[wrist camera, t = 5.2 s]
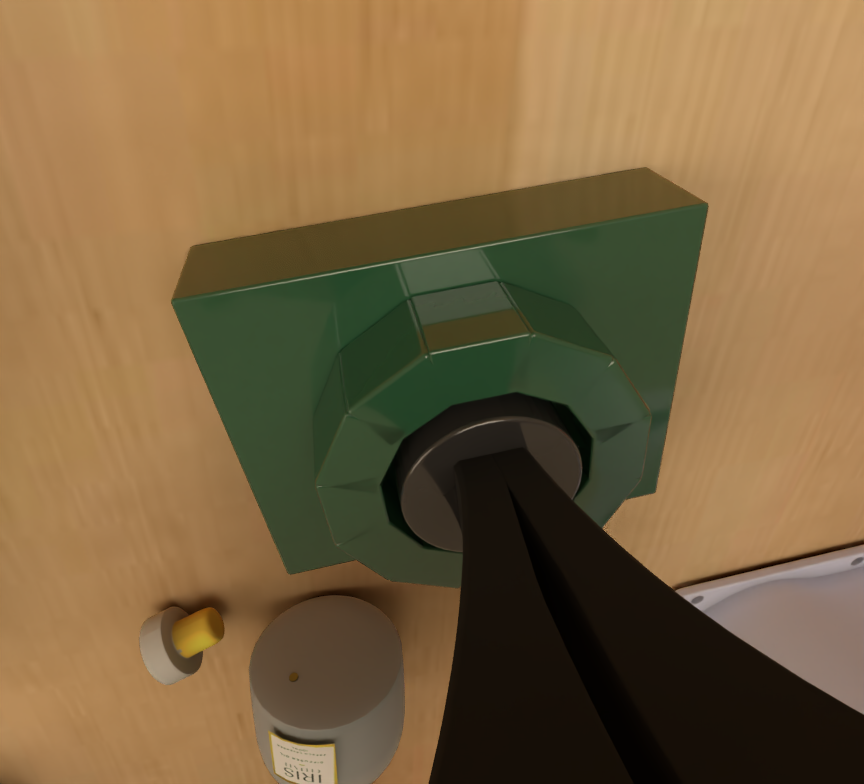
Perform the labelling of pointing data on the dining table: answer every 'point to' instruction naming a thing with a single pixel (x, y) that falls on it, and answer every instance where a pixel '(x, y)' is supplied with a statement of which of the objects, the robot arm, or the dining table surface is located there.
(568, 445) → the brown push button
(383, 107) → the dining table surface
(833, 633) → the robot arm
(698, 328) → the dining table surface
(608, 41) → the dining table surface
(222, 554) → the dining table surface
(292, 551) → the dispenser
